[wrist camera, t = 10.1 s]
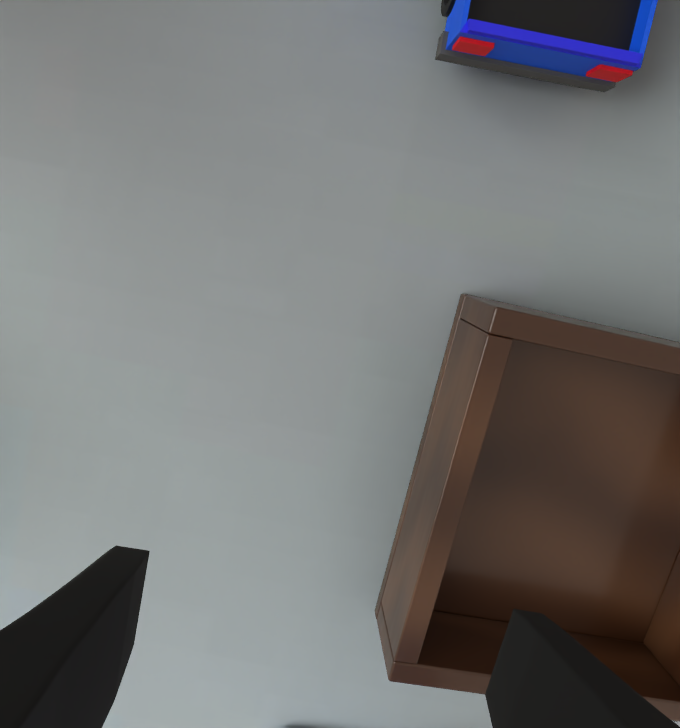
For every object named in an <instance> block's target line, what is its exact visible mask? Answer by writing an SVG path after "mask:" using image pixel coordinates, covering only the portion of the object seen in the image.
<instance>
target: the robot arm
mask: <svg viewBox="0 0 680 728" xmlns="http://www.w3.org/2000/svg"><path fill="white" fill-rule="evenodd" d="M148 557H149V551H146V550H140V549H134V548H128V547H121V546H115V547H113V548H112V549H110V550H109V551H107V552H106V553H105V554H104V555H102V556H101V557H100V558H99V559H97V560H96V561H95V562H94V563H92V564H91V565H90V566H89V567H87V568H86V569H85V570H84V571H82V572H81V573H80V574H79V575H77V576H76V577H75V578H73V579H72V580H71V581H70V582H68V583H67V584H66V585H64V586H63V587H62V588H60V589H59V590H58V591H56V592H55V593H53V594H52V595H51V596H49V597H48V598H47V599H45V600H44V601H43V602H41V603H40V604H38V605H37V606H36V607H34V608H33V609H32V610H30V611H29V612H27V613H26V614H24V615H23V616H22V617H20V618H19V619H17V620H15V621H14V622H12V623H11V624H9V625H8V626H6V627H5V628H3V629H2V630H0V728H102V726H103V724H104V722H105V720H106V717H107V715H108V713H109V711H110V709H111V707H112V704H113V702H114V700H115V697H116V694H117V692H118V689H119V686H120V683H121V680H122V677H123V675H124V672H125V669H126V666H127V663H128V660H129V657H130V654H131V651H132V648H133V645H134V640H135V634H136V628H137V622H138V616H139V610H140V604H141V598H142V593H143V587H144V581H145V575H146V569H147V563H148ZM485 695H486V700H487V704H488V709H489V713H490V718H491V722H492V726H493V728H680V727H679V726H678V725H677V724H675V723H674V722H673V721H672V720H670V719H669V718H668V717H666V716H665V715H664V714H663V713H662V712H660V711H659V710H658V709H657V708H655V707H654V706H653V705H652V704H651V703H649V702H648V701H647V700H646V699H644V698H643V697H642V696H641V695H640V694H639V693H637V692H636V691H635V690H634V689H633V688H631V687H630V686H629V685H628V684H627V683H626V682H624V681H623V680H622V679H621V678H620V677H618V676H617V675H616V674H615V673H614V672H613V671H611V670H610V669H609V668H608V667H607V666H606V665H604V664H603V663H602V662H601V661H600V660H599V659H598V658H596V657H595V656H594V655H593V654H592V653H591V652H589V651H588V650H587V649H586V648H585V647H584V646H582V645H581V644H580V643H579V642H578V641H577V640H575V639H574V638H573V637H572V636H571V635H569V634H568V633H567V632H566V631H565V630H563V629H562V628H561V627H560V626H558V625H557V624H556V623H554V622H553V621H552V620H551V619H549V618H548V617H546V616H545V615H544V614H542V613H537V612H530V611H524V610H518V609H513V612H512V615H511V618H510V621H509V624H508V627H507V630H506V633H505V636H504V639H503V642H502V645H501V648H500V651H499V654H498V657H497V660H496V663H495V666H494V669H493V672H492V675H491V678H490V681H489V684H488V687H487V690H486V693H485Z"/></svg>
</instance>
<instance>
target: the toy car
mask: <svg viewBox="0 0 680 728" xmlns="http://www.w3.org/2000/svg"><path fill="white" fill-rule="evenodd" d="M657 1H658V0H442V5H441V13H442V16H446V17H447V22H446V28H445V31H444V32H443V33H442V35H441V36H440V37H439V41H438V47H437V52H436V58H435V60H440V61H445V62H450V63H455V64H461V65H466V66H471V67H476V68H481V69H486V70H492V71H497V72H502V73H507V74H512V75H517V76H523V77H528V78H533V79H538V80H543V81H548V82H554V83H559V84H564V85H569V86H574V87H579V88H585V89H590V90H595V91H600V92H606V91H608V90H610V89H612V88H614V87H615V84H616V82H619V81H621V80H623V79H625V78H627V77H629V76H631V75H632V73H633V72H634V71H636V70H638V69H640V68H641V65H642V61H643V57H644V53H645V49H646V45H647V41H648V37H649V33H650V29H651V25H652V21H653V17H654V13H655V9H656V5H657Z"/></svg>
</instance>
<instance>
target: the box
mask: <svg viewBox="0 0 680 728" xmlns="http://www.w3.org/2000/svg"><path fill="white" fill-rule="evenodd" d="M513 609H518V610H524V611H530V612H537V613H542V614H544V615H545V616H546V617H548V618H549V619H551V620H552V621H553V622H554V623H556V624H557V625H558V626H560V627H561V628H562V629H563V630H565V631H566V632H567V633H568V634H569V635H571V636H572V637H573V638H574V639H575V640H577V641H578V642H579V643H580V644H581V645H582V646H584V647H585V648H586V649H587V650H588V651H589V652H591V653H592V654H593V655H594V656H595V657H596V658H598V659H599V660H600V661H601V662H602V663H603V664H604V665H606V666H607V667H608V668H609V669H610V670H611V671H613V672H614V673H615V674H616V675H617V676H618V677H620V678H621V679H622V680H623V681H624V682H626V683H627V684H628V685H629V686H630V687H631V688H633V689H634V690H635V691H636V692H637V693H639V694H640V695H641V696H642V697H643V698H644V699H646V700H647V701H648V702H649V703H651V704H652V705H653V706H654V707H655V708H657V709H658V710H659V711H660V712H662V713H663V714H664V715H665V716H666V717H668V718H669V719H670V720H673V721H680V342H676V341H671V340H667V339H662V338H658V337H653V336H649V335H645V334H640V333H636V332H631V331H627V330H623V329H618V328H614V327H609V326H605V325H600V324H596V323H592V322H587V321H583V320H578V319H574V318H570V317H565V316H561V315H556V314H552V313H547V312H543V311H539V310H534V309H530V308H525V307H521V306H517V305H512V304H508V303H503V302H499V301H494V300H490V299H486V298H481V297H477V296H472V295H468V294H464V293H463V294H461V296H460V300H459V304H458V307H457V311H456V315H455V318H454V322H453V326H452V329H451V333H450V337H449V340H448V344H447V348H446V351H445V355H444V359H443V362H442V366H441V370H440V373H439V377H438V381H437V384H436V388H435V392H434V395H433V399H432V403H431V406H430V410H429V414H428V417H427V421H426V425H425V428H424V432H423V436H422V439H421V443H420V447H419V450H418V454H417V458H416V461H415V465H414V469H413V472H412V476H411V480H410V483H409V487H408V491H407V494H406V498H405V502H404V505H403V509H402V513H401V516H400V520H399V524H398V527H397V531H396V535H395V538H394V542H393V546H392V549H391V553H390V557H389V560H388V564H387V568H386V571H385V575H384V579H383V582H382V586H381V590H380V593H379V597H378V601H377V604H376V608H375V615H376V619H377V623H378V628H379V633H380V638H381V644H382V649H383V654H384V659H385V664H386V669H387V674H388V679H389V681H393V682H400V683H407V684H414V685H422V686H429V687H436V688H443V689H450V690H458V691H465V692H472V693H479V694H485V693H486V690H487V687H488V684H489V681H490V678H491V675H492V672H493V669H494V666H495V663H496V660H497V657H498V654H499V651H500V648H501V645H502V642H503V639H504V636H505V633H506V630H507V627H508V624H509V621H510V618H511V615H512V612H513Z"/></svg>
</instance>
